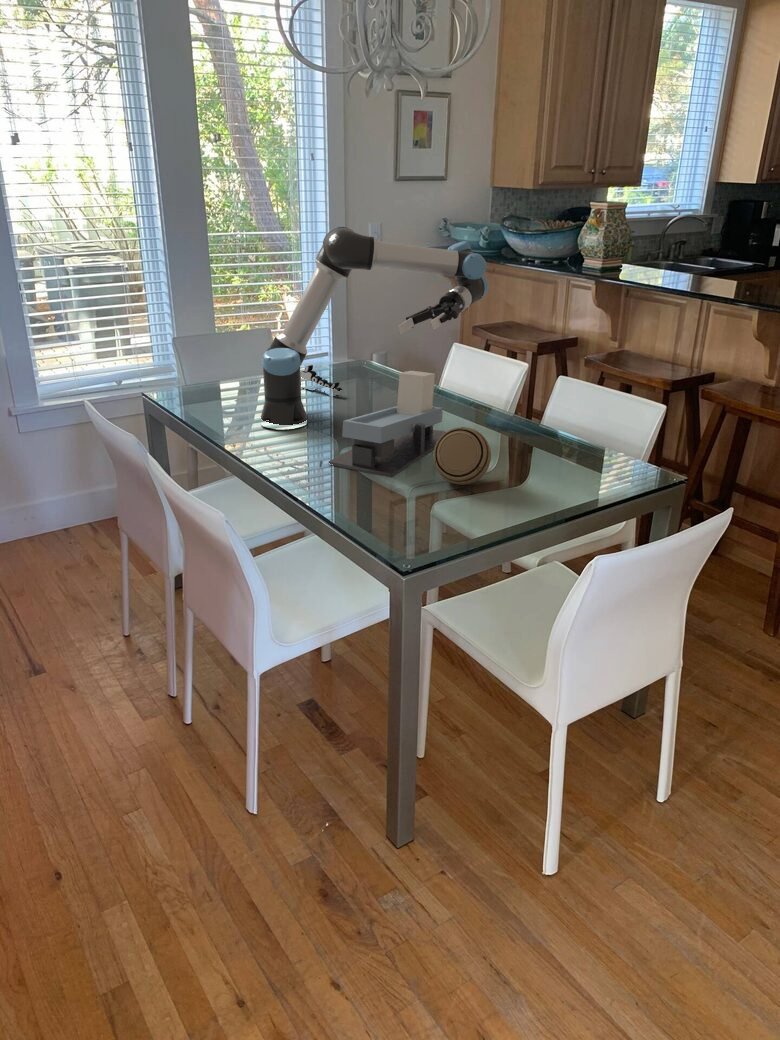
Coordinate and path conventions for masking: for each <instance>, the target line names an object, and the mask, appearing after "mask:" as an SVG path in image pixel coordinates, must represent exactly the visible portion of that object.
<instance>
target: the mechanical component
mask: <svg viewBox="0 0 780 1040" xmlns="http://www.w3.org/2000/svg"><path fill="white" fill-rule="evenodd" d="M445 432H446V433H444V434H443V435H442V436H441V437H440V438H439V440H438V441H437V443H436V445H435V448H434V450H433V456H432V458H433V464H434V467H435V469H436V471H437V472H438V474H439V475H440V476H441V477H442V478H443V479H444V480H446V481H447V482H449V483H452V484H453V485H459V486H466V485H470V484H473V483H476V482H477V481H479V480H480V479H481V478H483V476H485V475H486V473H487V471H488V470H489V467H490V465H491V462H492V461H491V460H492V451H491V447H490V444H489V442H488V440H487V439H486V437H485V436H484V435H483V433H481V432H479V431H478V430H476V429H475V428H474V429H473V428H470V427H466V426H460V427H454V428H450V429H449V430H447V431H445Z"/></svg>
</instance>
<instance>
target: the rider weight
mask: <svg viewBox="0 0 780 1040" xmlns="http://www.w3.org/2000/svg"><path fill="white" fill-rule="evenodd" d="M435 378H436V373H435V372H434V373H432V372H426V371H425V372H424V371H417V370H408V371H402V372H399V373H398V387H397V388H398V390H397V405H396V406H397V413H401V414H408V415H416V414H419V413H422V412H425V411H429V410H432V406H433V402H434V392H435Z"/></svg>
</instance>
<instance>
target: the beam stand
mask: <svg viewBox="0 0 780 1040" xmlns="http://www.w3.org/2000/svg"><path fill="white" fill-rule="evenodd" d="M446 432H447V431H445V430H438V429H434V425H431V426H429V427H426V428H425V424H423V423H418V424H416V425H415V431H414V432H412V433H409V434H406V435H403V436H400V437H397V438H395V439H394V453H393V454H391V455H388V456H385V457H383V458H379V457H375V447H371V446H365V445H360V444H355V445H354V444H353V445H351V447H352V448H351V449H349V450H347V451H345V452H343V453H341V454H340V455H338V456H335V457H334V458H333V459H331V460H328V464H329V463H330V464H333V465H336V466H335V467H337V466H338V468H342V467H343V468H342V469H347V470H348V469H349V470H353V471H357V472H363V473H369V474H374V475H379V476H384V477H388V478H393V477H395V476H396V475H397V474H400V473H401V472H403V470H405V469H406V468H408V467H410V466H411V465H413V464H414V463H416V462H417V461H419V460H421V459H422V458H423V457H425V456H428V454H430V453H431V452H434V448H435V445H436V443H437V441H438V440H439V438H440V437H441V436H442V435H443V434H444V433H446Z"/></svg>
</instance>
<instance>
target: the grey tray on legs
mask: <svg viewBox="0 0 780 1040" xmlns="http://www.w3.org/2000/svg"><path fill="white" fill-rule="evenodd" d="M443 408H444V407H442V406H441V407H440V406H433V405H432V410H429V411H425V412H422V413H419V414H416V415H408V414H401V413H397V405H395V406H392V407H388V408H384V409H381V410H377V411H374V412H371V413H370V412H369V413H366V414H362V415H360V416H356V417H353V418H349V419H348V418H347V419H345V420H343V421H342V430H341V431H342V432H341V433H342V434H341V436H342V437H343V438H347V439H353V445H355V444H360V445H365V446H371V447H375V457H379V458H383V457H385V456H388V455H391V454H393V453H394V439H395V438H397V437H400V436H403V435H406V434H409V433H412V432H414V431H415V425H416V424H418V423H423V424H425V428H426V427H429V426H431V425H433V426H435V425H436V424H440V423H442V422H443V414H444V413H443Z"/></svg>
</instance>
